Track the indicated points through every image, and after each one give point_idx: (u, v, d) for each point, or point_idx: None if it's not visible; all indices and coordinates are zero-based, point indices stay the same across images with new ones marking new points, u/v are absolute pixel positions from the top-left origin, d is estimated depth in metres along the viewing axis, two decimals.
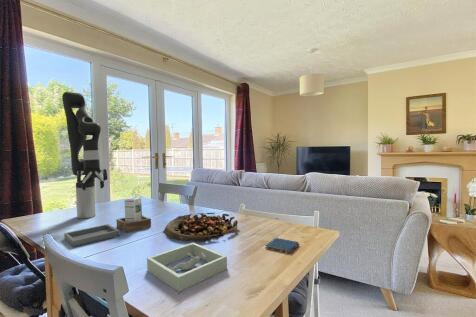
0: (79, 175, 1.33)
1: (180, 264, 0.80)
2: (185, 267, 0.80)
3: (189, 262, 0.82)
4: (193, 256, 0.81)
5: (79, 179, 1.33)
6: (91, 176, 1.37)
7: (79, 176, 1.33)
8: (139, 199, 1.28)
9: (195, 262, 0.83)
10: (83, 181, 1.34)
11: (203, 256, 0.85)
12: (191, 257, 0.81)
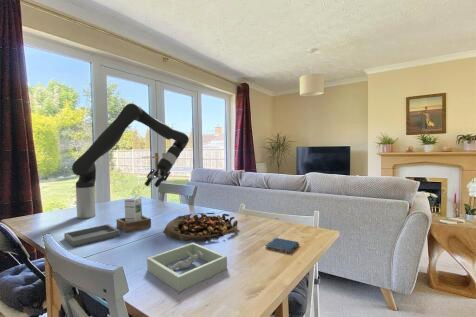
0: None
1: (179, 263, 0.81)
2: (184, 265, 0.82)
3: (187, 260, 0.83)
4: (191, 254, 0.83)
5: None
6: None
7: None
8: (139, 199, 1.28)
9: (193, 260, 0.84)
10: None
11: (200, 254, 0.86)
12: None
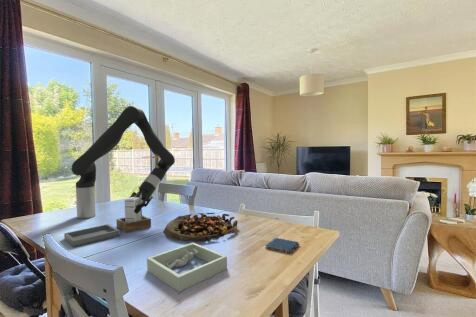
0: None
1: (177, 261, 0.82)
2: (181, 263, 0.83)
3: (184, 258, 0.85)
4: (188, 252, 0.85)
5: None
6: None
7: None
8: None
9: (189, 258, 0.86)
10: None
11: (196, 251, 0.89)
12: None
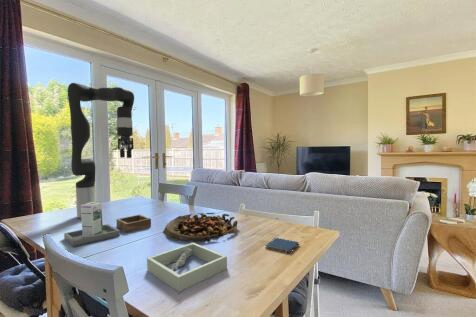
0: None
1: (179, 261, 0.82)
2: (183, 262, 0.84)
3: (183, 257, 0.85)
4: (187, 250, 0.86)
5: None
6: None
7: None
8: (98, 204, 1.14)
9: (186, 256, 0.87)
10: (131, 148, 1.33)
11: (189, 250, 0.90)
12: (186, 252, 0.85)
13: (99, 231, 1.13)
